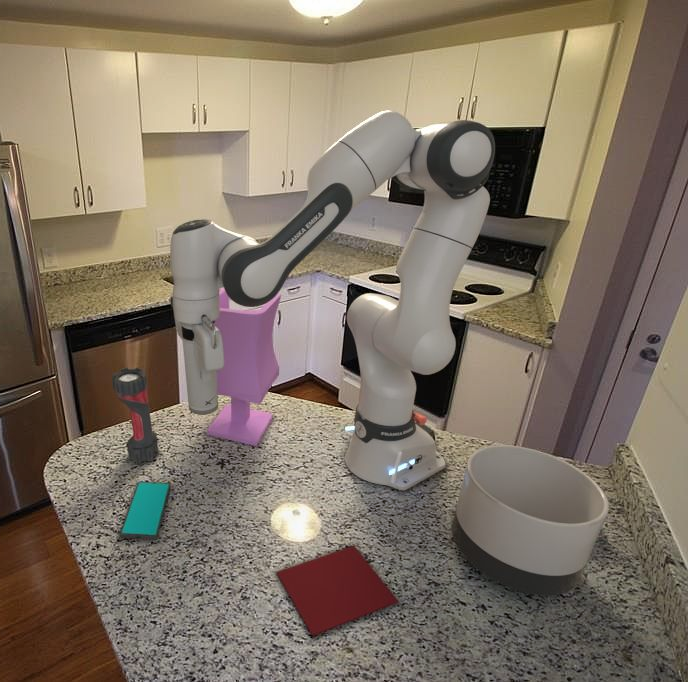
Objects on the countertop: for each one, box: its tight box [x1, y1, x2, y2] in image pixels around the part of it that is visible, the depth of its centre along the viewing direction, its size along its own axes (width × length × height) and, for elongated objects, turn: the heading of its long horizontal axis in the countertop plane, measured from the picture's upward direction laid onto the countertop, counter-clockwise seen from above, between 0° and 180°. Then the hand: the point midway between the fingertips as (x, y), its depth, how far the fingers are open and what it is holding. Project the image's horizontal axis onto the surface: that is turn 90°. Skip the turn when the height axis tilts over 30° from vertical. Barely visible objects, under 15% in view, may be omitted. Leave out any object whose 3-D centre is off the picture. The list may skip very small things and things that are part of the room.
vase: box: [205, 287, 282, 447], centre depth 116 cm, size 16×16×35 cm
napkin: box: [276, 545, 399, 637], centre depth 79 cm, size 16×12×1 cm
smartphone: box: [119, 481, 171, 541], centre depth 96 cm, size 7×1×15 cm
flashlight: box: [111, 366, 160, 464], centre depth 108 cm, size 8×8×23 cm
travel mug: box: [181, 320, 219, 416], centre depth 94 cm, size 6×7×20 cm
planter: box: [451, 444, 610, 597], centre depth 80 cm, size 19×19×18 cm
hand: (199, 371), depth 95 cm, fingers closed on travel mug, 6 cm apart
